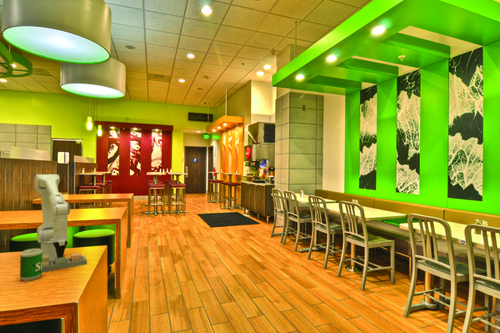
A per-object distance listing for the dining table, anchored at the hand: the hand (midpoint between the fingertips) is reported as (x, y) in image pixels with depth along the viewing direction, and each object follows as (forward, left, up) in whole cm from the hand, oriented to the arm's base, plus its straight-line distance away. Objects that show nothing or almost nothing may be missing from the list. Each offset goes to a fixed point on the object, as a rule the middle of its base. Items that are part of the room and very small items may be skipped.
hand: (60, 257), depth 133 cm
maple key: (0, -7, -2) cm, 7 cm away
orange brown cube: (0, +7, -4) cm, 8 cm away
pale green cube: (0, 0, -4) cm, 4 cm away
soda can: (+9, -11, -5) cm, 15 cm away
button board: (0, 0, -4) cm, 4 cm away
